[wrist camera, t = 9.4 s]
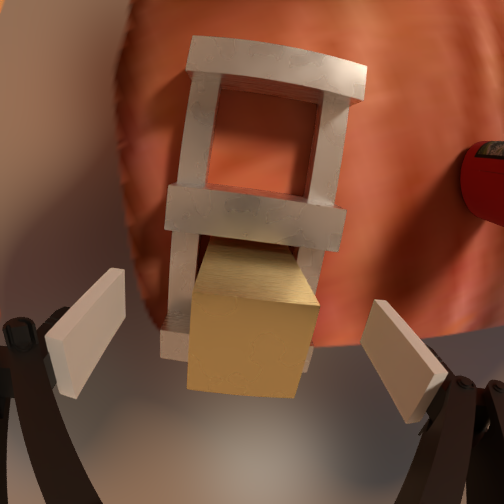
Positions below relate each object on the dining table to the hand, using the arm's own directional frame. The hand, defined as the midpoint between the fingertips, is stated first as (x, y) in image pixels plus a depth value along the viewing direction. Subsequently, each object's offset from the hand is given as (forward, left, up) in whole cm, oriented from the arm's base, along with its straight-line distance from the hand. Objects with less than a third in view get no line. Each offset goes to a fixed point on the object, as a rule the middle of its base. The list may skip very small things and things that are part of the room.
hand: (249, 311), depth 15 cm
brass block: (0, 0, -7) cm, 7 cm away
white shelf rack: (-4, 0, -7) cm, 8 cm away
